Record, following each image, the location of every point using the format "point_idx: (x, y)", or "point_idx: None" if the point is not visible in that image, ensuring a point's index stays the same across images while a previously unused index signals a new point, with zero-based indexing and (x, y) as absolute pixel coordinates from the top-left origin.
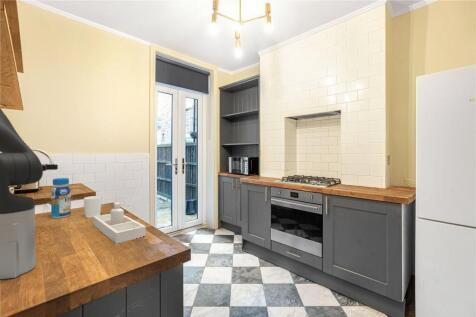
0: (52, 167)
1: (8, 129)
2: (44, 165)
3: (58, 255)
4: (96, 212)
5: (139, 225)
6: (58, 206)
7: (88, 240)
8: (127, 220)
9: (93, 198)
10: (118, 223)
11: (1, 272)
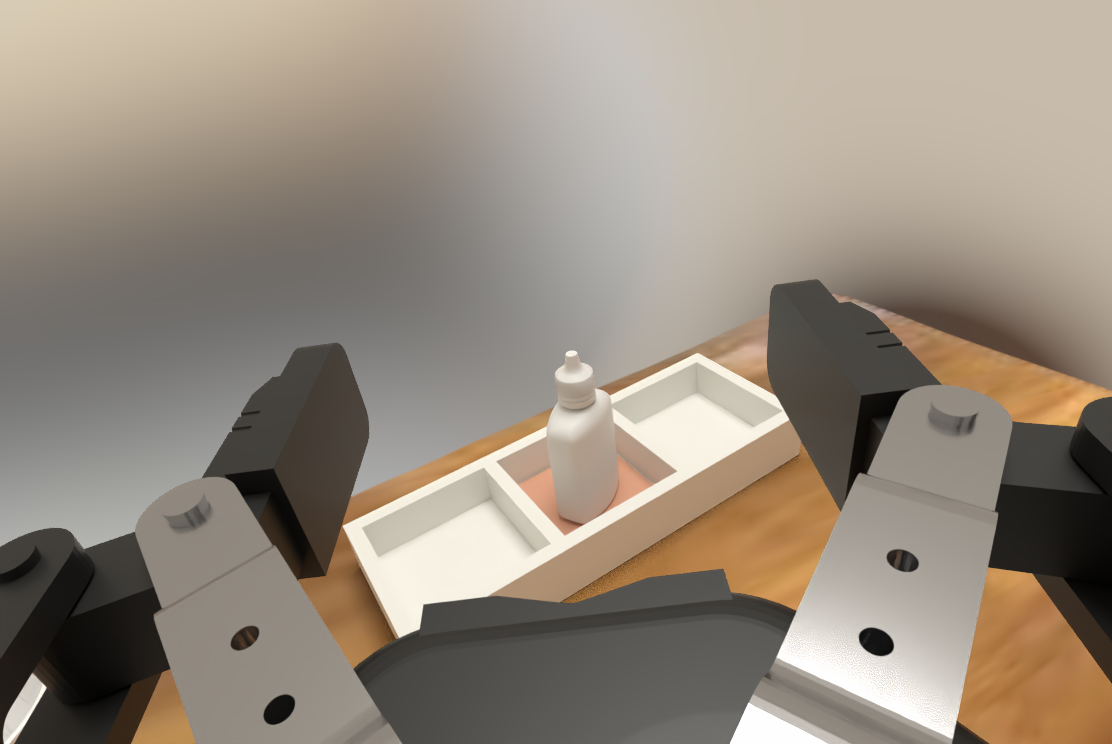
0: (336, 442)
1: None
2: (814, 284)
3: (1002, 627)
4: None
5: (672, 377)
6: None
7: (757, 583)
8: (535, 452)
9: None
10: (616, 459)
11: None
